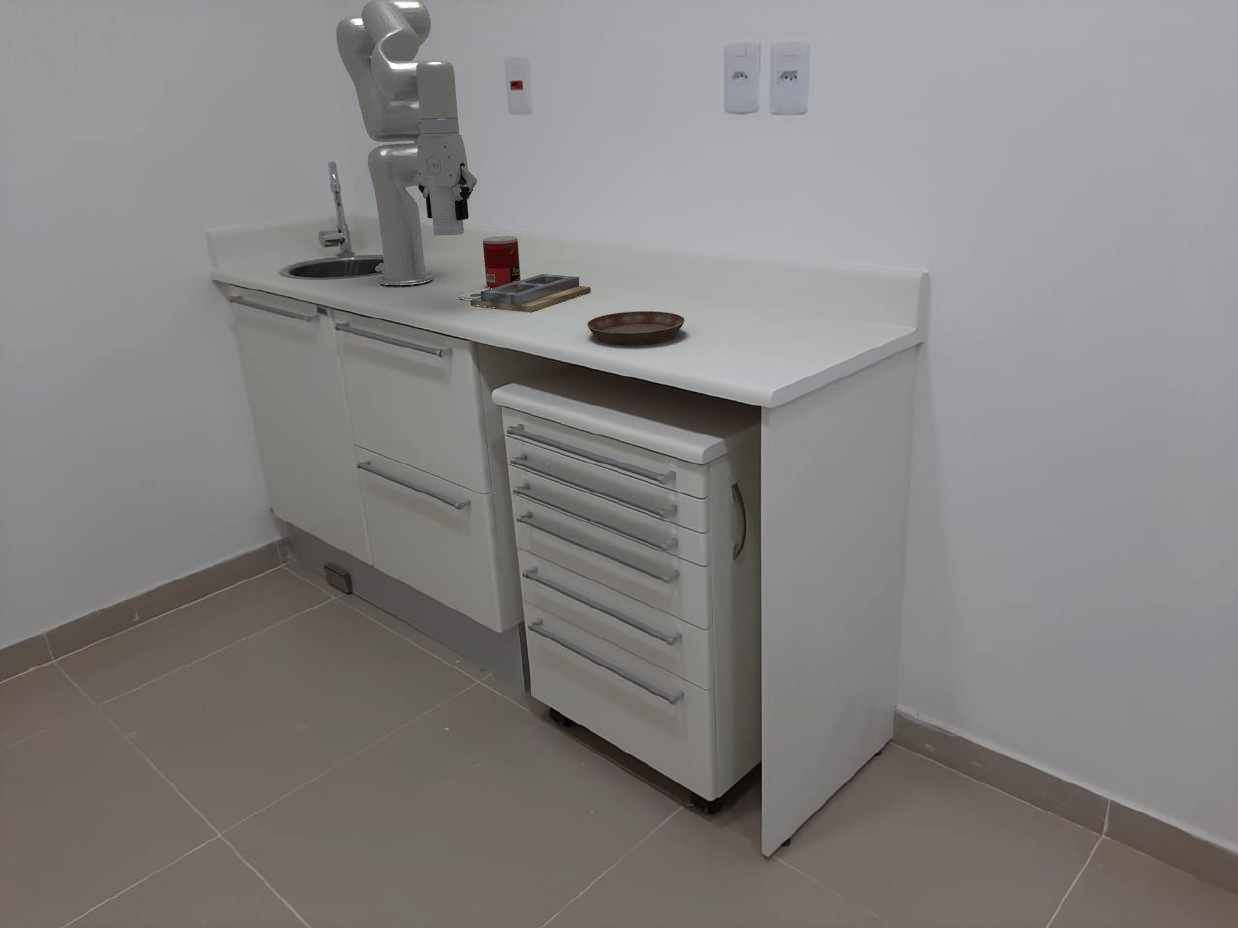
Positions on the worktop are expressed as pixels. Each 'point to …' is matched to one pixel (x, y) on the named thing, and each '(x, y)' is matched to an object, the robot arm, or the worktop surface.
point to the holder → (532, 293)
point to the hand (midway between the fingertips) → (448, 218)
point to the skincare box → (443, 210)
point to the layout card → (472, 294)
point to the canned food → (501, 260)
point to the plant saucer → (636, 327)
